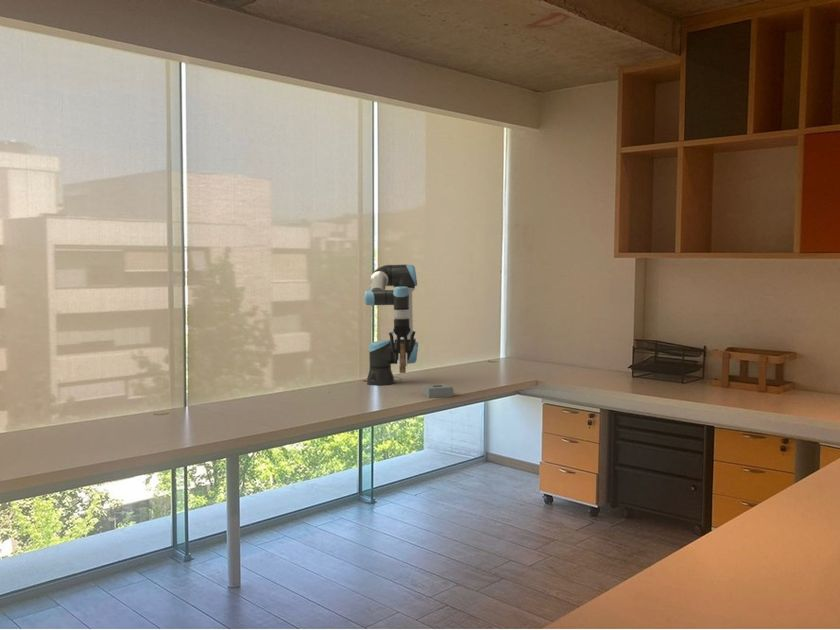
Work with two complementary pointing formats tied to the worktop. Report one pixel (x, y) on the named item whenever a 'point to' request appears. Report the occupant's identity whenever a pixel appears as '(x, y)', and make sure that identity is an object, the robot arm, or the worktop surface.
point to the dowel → (402, 358)
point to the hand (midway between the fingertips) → (402, 366)
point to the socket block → (437, 390)
